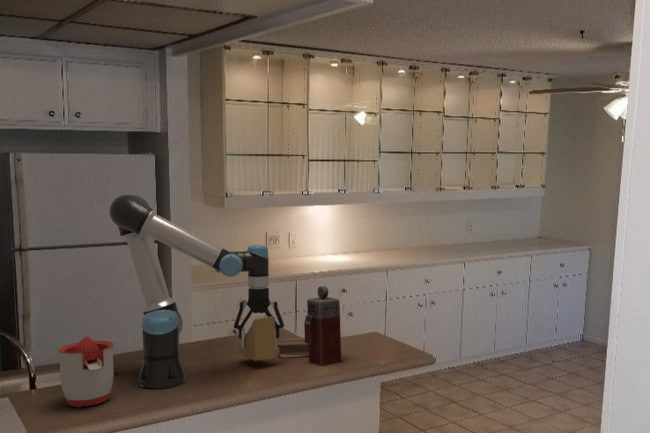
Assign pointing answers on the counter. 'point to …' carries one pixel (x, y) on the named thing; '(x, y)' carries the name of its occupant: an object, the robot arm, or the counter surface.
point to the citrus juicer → (86, 372)
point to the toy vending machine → (323, 329)
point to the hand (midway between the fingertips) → (259, 347)
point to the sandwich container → (260, 339)
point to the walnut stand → (293, 346)
